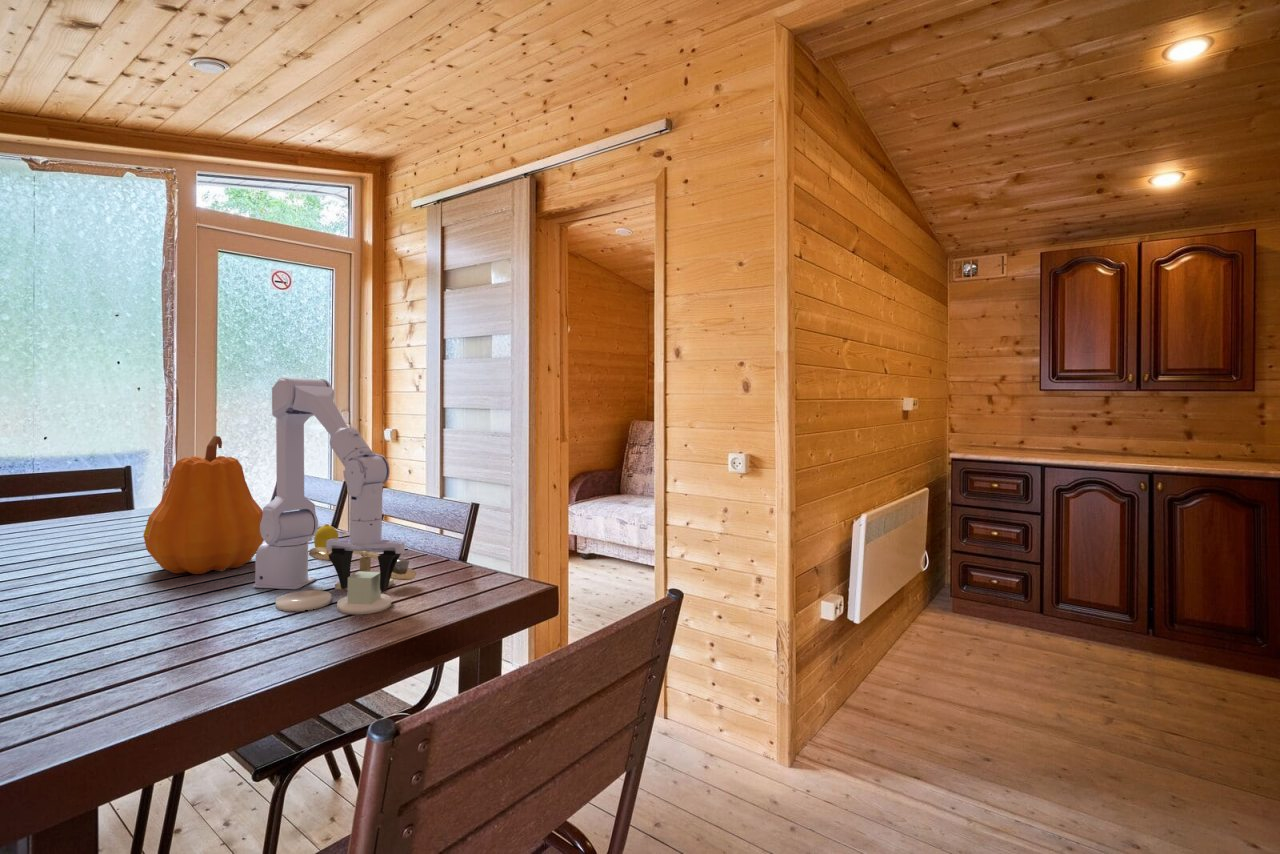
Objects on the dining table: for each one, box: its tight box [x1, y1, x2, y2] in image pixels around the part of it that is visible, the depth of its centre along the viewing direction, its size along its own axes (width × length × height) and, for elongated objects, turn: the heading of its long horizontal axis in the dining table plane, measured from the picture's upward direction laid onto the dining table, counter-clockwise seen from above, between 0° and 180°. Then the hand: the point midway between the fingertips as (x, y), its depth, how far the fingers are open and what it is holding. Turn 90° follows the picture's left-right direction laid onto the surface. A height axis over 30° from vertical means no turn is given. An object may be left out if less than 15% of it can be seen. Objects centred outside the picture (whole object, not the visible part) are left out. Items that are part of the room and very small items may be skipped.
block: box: [346, 570, 382, 605], centre depth 128 cm, size 4×4×5 cm
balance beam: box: [308, 547, 417, 581], centre depth 141 cm, size 23×7×3 cm, turn 88°
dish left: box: [275, 589, 332, 612], centre depth 128 cm, size 10×10×1 cm
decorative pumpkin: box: [143, 435, 265, 575], centre depth 151 cm, size 24×24×30 cm
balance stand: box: [334, 556, 395, 591], centre depth 141 cm, size 10×6×6 cm, turn 88°
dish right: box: [336, 593, 392, 616], centre depth 128 cm, size 10×10×1 cm
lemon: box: [313, 523, 340, 548], centre depth 166 cm, size 6×6×8 cm
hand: (364, 588), depth 128 cm, fingers open, 7 cm apart
